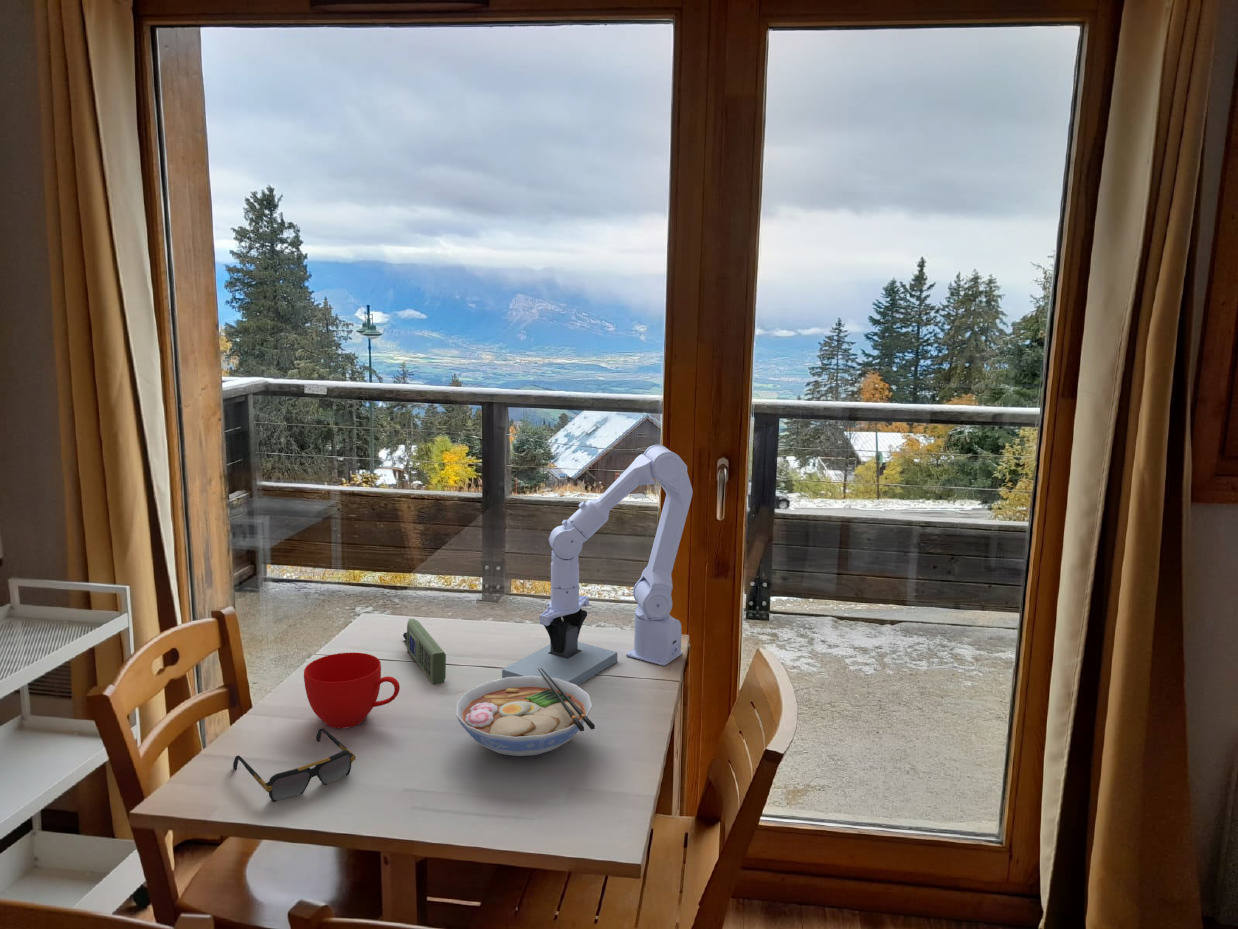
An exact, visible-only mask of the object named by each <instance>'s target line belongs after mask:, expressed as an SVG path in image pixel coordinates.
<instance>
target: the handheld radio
mask: <svg viewBox="0 0 1238 929" xmlns="http://www.w3.org/2000/svg"><path fill="white" fill-rule="evenodd" d="M406 629H407V630H406V632H404V633H403V634H402V636H403V639H404V640H405V641H406V649H407V651H408V654H410V655H411V657H412V658H413V659H414V661H415V663H416V664H417V665H418V667H419V668H420V669H421V670H422V672H423V673H424V675H425V676H426V677H427V679H428V680H429V681H430V682H431V684H432V685H438V684H439V685H440V684H443V683H445V680H446V675H447V674H446V673H447V671H446V669H447V666H446V665H447V654H446V653H445V651H444V649H442V648H441V647H440V645H439V644H438V642H436V640H435V638H433V637H432V636H431V634H430V633H429V632H428V631H427V630H426V629H425V627H424V626H423V625H422V623H421V622H419V620H417V619H416V618H413V617H412V618H408V621H407V624H406Z"/></svg>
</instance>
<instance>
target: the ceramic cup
mask: <svg viewBox="0 0 1238 929" xmlns="http://www.w3.org/2000/svg"><path fill="white" fill-rule="evenodd" d="M303 682H304V683H303V684H304V688H305V694H306V697H307V701H308V703H309V705H310V709H312V711H313V713H314V714H315V715H316V717H317V718H319V720H321V721H322V722H324V723H325V725H326V726H328V727H330V728H333V729H348V728H349V729H350V728H353V727H355V726H358V725H360V724H361V723H363V721H364V720H365V719H366V718H367V717H368V715H369V714H370V713H371V711H372V710H373V708H378V707H380V706H385V705H387V704H390V703H391V702H392V701H394V700H395V699H396V698H397V697H398V695H399V692H400V688H401V687H400V683H399V680H398V679H397V678H395V677H393V676H384V677H382V663H381V660H380V659H379V658H378V657H376V656H375V655H372V654H369V653H364V652H354V651H353V652H340V653H333V654H329V655H326V656H325V655H324V656H322V657H319V658H317V659H314V660H313V661H311V662H310V663H309V664H307V666H305V668H304V670H303ZM385 682H387V683H390V684H392V686H393V689H394V691H393V693H392V695H391V696H390V697H388V698H386V699H382V700H379V701H377V700H378V697H379V694H380V689H381V684H383V683H385Z"/></svg>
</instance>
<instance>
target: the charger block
mask: <svg viewBox="0 0 1238 929" xmlns="http://www.w3.org/2000/svg"><path fill="white" fill-rule="evenodd" d="M578 639H579V636H578V627H577V626H573V625H569V626H568V628H567V631H566V635H565V645H564V650H563V653H558V652H554V651H553V647H552V644H551V640H550V639H549V640H550V644H549V645H550V653H551V654H552V655H556V656H559V657H563V658H566V659H568V658H570V657H572V656H574V655H576V654H577V653H578V642H579V640H578Z"/></svg>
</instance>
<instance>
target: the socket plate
mask: <svg viewBox="0 0 1238 929" xmlns="http://www.w3.org/2000/svg"><path fill="white" fill-rule="evenodd" d="M617 662H618V651H614V650H610V649H608V648H607V649H606V648H603V647H599V646H596V645H593V644H588V643H584V642H580V641H578V653H577V654H576V655H574V656H572V657H570V658H568V659H566V658H563V657H559V656H556V655H552V654H551V653H550V644H548V645H545V646H543V647H542V648H540V649H538V650H537V651H535V652H532V653H531V654H528V655H527V656H525V657H522V658H521V659H519V660H517V661H515V662H514V663H512V664H510V665H508V666H506V667H504V668H502V670H501V677H502V678H506V677H519V676H540V677H543V676H542V675H541V673H540V672H539V670H540V671H541V672H542V674H543V675H544V676H545V677H547V676H546V675H545V673H544V672H543V671H542V670H541V668H542V669H543V670H544V671H545V672H546V673H547V675H548V676H549V677H550V678H557V679H560V680H563V681H566V682H569V683H572V684H575V685H577V686H578V687H579V685H582V683H584V682H585V681H588V680H589V679H591V678H593V677H595V676H596V675H598V674H599V673H601V672H602V671H604V670H606V669H607V668H609V667H610V666H612V665H614V664H615V663H617ZM611 664H612V665H611ZM606 667H607V668H606ZM538 668H539V670H538ZM605 668H606V669H605ZM603 669H604V670H603ZM600 671H601V672H600ZM598 672H599V673H598ZM595 674H596V675H595ZM592 676H593V677H592ZM502 678H501V679H502Z"/></svg>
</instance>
